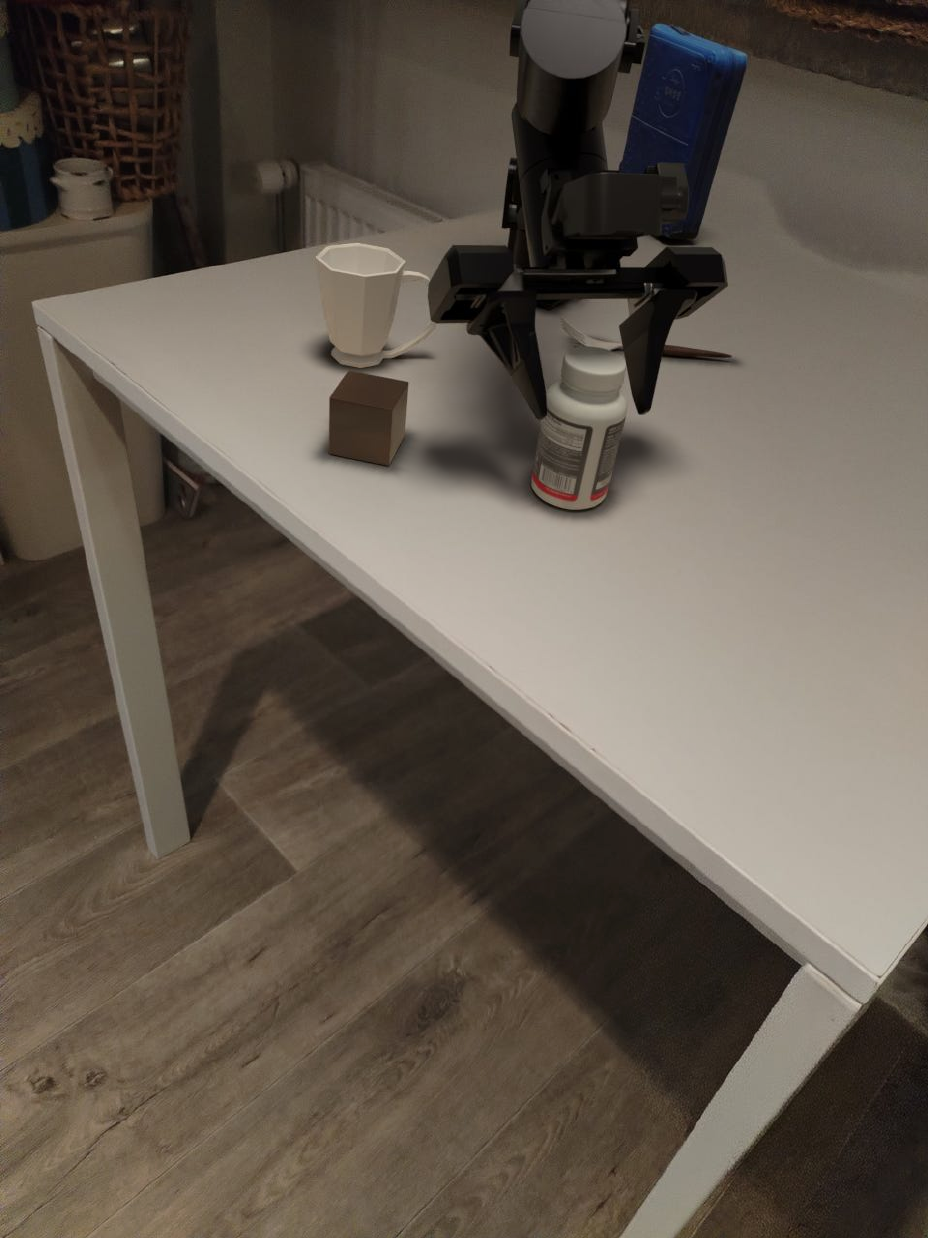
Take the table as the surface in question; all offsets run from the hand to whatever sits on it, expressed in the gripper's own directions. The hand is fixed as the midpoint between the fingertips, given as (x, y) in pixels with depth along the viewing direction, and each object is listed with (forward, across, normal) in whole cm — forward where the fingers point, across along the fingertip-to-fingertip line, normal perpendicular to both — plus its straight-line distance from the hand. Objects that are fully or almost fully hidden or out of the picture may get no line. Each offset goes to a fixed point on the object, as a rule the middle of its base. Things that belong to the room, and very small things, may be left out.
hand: (594, 415), depth 58 cm
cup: (-11, -9, +21) cm, 25 cm away
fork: (-11, +16, +20) cm, 28 cm away
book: (-35, +32, +44) cm, 65 cm away
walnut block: (-2, -13, +11) cm, 17 cm away
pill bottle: (+4, 0, +6) cm, 7 cm away
